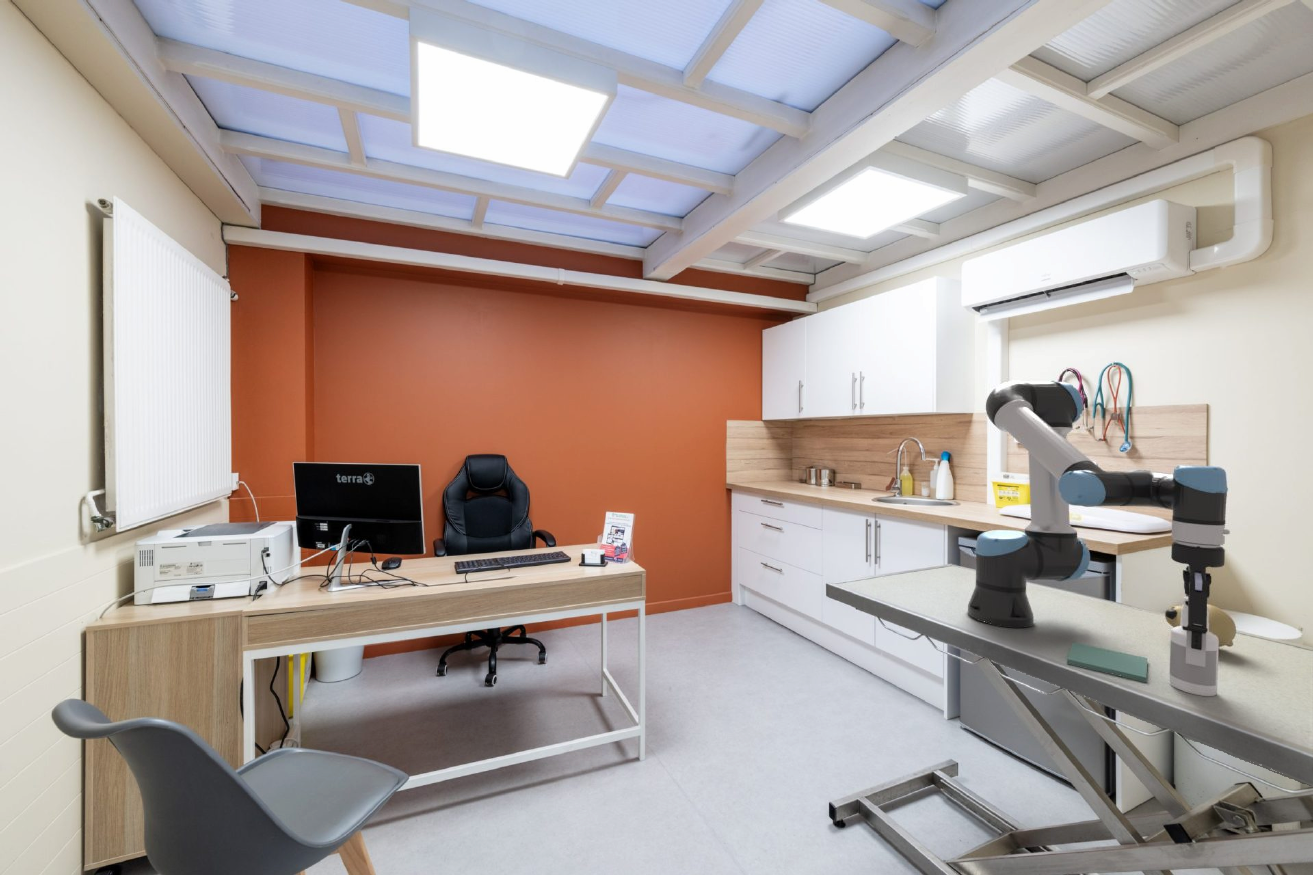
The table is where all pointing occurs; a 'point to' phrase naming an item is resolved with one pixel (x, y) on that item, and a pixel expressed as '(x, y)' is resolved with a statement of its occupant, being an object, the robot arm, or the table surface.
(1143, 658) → the mat
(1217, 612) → the toy pig
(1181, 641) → the spray bottle
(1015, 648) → the table surface
